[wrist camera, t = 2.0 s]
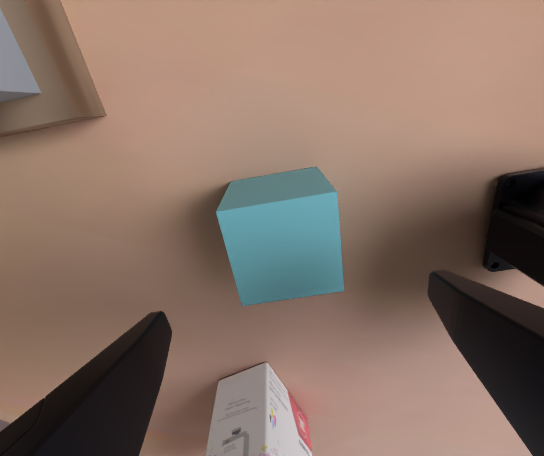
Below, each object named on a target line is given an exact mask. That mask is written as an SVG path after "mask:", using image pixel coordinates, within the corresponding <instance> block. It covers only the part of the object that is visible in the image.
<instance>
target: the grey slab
mask: <svg viewBox="0 0 544 456" xmlns="http://www.w3.org/2000/svg"><path fill="white" fill-rule="evenodd" d="M36 94H41V91H40V89H39V87H38V85H37V83H36V81H35V79H34V76H33V74H32V72H31V70H30V68H29V66H28V64H27V62H26V60H25V58H24V56H23V54H22V52H21V50H20V48H19V46H18V43H17V41H16V39H15V37H14V35H13V33H12V31H11V29H10V27H9V25H8V23H7V21H6V19H5V17H4V15H3V12H2V10H1V8H0V102H3V101H8V100H13V99H17V98H22V97H27V96H31V95H36Z"/></svg>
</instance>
